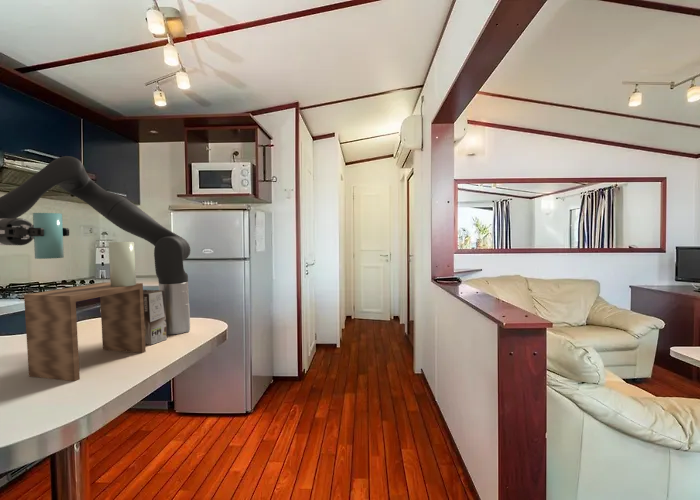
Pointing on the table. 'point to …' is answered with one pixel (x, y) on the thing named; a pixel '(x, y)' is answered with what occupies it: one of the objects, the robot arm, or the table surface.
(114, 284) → the pale green cylinder
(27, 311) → the stand
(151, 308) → the coffee box
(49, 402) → the table surface
